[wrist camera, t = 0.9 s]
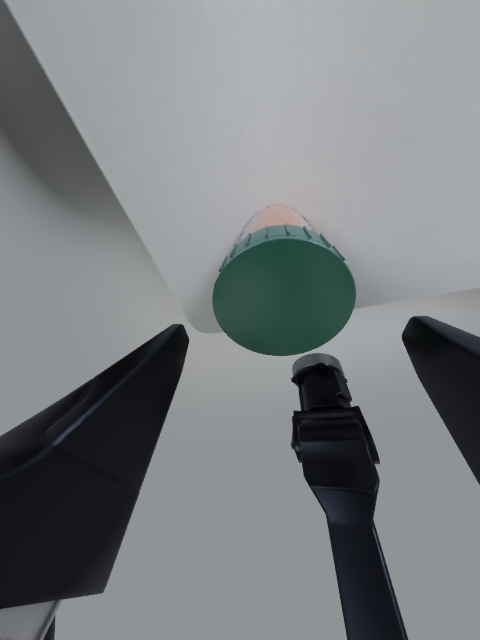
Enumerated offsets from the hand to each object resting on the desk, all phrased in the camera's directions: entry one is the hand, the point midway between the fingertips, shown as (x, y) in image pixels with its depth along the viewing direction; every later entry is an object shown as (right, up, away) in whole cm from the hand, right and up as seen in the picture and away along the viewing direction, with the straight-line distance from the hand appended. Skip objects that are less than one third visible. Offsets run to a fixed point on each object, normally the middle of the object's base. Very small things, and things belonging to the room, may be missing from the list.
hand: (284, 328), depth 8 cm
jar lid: (0, +1, +2) cm, 2 cm away
